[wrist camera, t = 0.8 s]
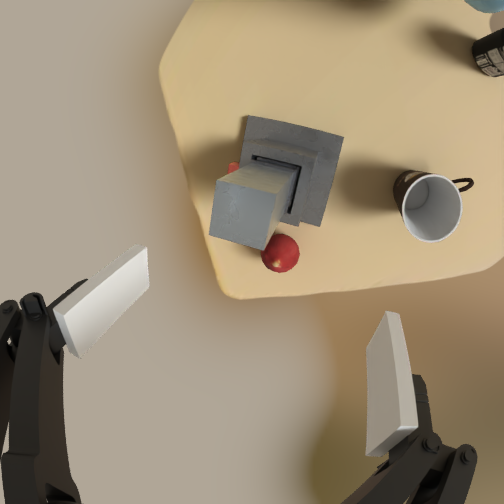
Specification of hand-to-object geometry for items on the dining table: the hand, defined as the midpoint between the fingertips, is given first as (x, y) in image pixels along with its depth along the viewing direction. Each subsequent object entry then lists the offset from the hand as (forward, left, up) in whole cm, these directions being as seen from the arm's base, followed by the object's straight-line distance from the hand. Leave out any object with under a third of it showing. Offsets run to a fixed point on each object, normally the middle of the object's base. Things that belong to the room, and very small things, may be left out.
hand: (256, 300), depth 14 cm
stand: (-1, -3, -31) cm, 31 cm away
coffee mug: (-4, +18, -31) cm, 36 cm away
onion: (+11, -1, -31) cm, 33 cm away
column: (-1, -3, -29) cm, 29 cm away
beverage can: (-31, +25, -31) cm, 50 cm away
